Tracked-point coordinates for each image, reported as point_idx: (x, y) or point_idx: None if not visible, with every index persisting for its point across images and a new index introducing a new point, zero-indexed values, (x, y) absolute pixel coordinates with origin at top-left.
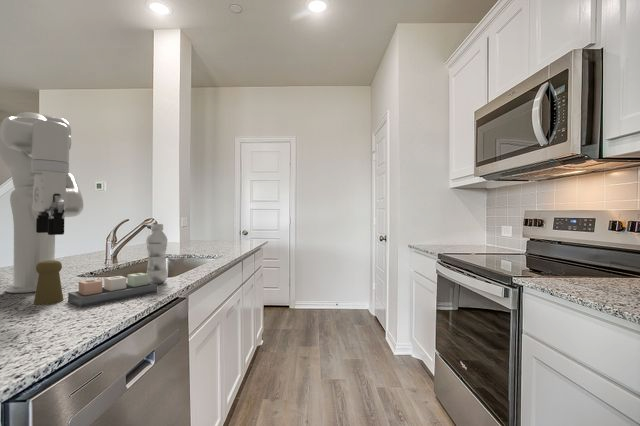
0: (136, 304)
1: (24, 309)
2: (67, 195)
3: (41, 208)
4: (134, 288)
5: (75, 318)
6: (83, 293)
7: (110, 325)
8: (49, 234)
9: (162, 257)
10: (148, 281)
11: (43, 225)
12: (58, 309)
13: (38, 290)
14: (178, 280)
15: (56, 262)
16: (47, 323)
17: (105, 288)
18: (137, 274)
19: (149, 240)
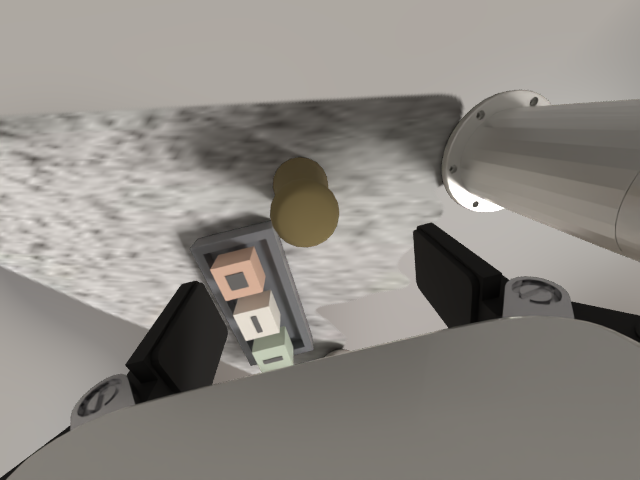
0: None
1: (254, 140)
2: None
3: (49, 452)
4: (235, 333)
5: (113, 227)
6: (223, 255)
7: (34, 273)
8: (184, 285)
9: None
10: (331, 354)
11: (437, 277)
12: (212, 202)
13: (285, 172)
14: None
15: (285, 238)
16: (95, 184)
17: (264, 292)
18: (269, 359)
19: None
